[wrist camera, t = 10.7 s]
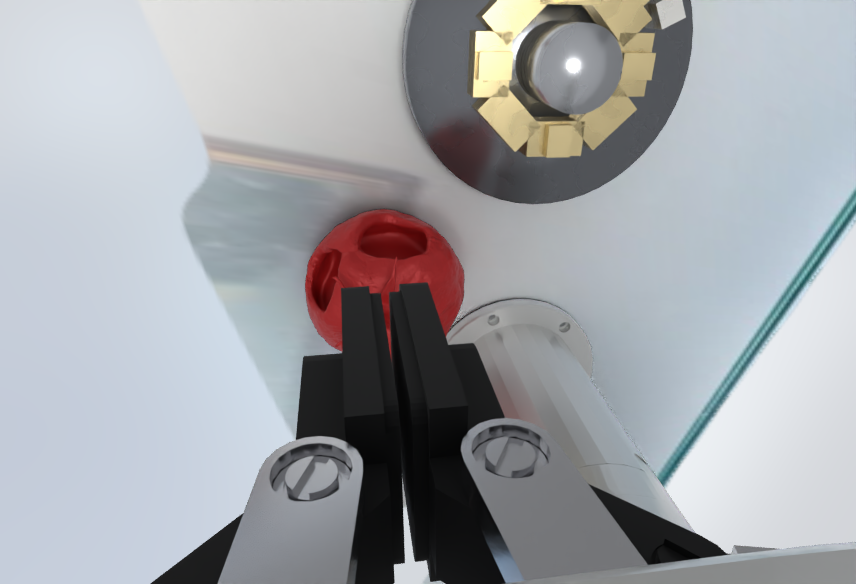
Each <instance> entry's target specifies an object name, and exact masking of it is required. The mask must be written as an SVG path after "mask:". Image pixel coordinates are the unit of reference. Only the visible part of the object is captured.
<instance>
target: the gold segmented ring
mask: <svg viewBox="0 0 856 584" xmlns="http://www.w3.org/2000/svg"><path fill="white" fill-rule="evenodd" d="M648 1H649V0H490V1H489V2H488V3H487V5H486V6H485V7H484V8H483V9H482V10H481V11H480V12H479V13H478V14H477V15H476V17H477V18H478V19H479V21H480V22H481V23H482V24H483V25H484V27H485V28H486V29H487V30H470V38H469V62H468V86H467V94H469V95H470V96H472V97H480V98H479V99H478V100H477V101H476V102H475V103H474V104H473V105H472V107H473V108H474V109H475V110H476V111H477V113H478V114H479V115H480V116H481V117H482V118H483V119H484V120H485V121H486V122H487V124H488V125H489V126H490V127H491V128H492V129H493V130H494V131H495V132H496V134H497V135H498V136H499V137H500V138H501V139H502V140H503V141H504V142H505V143H506V145H507V146H508V147H510V148H511V149H512V150H513V151H514V152H516V151H517V150H518V149H519V151H520V152H521V153H522V154H523V155H525V156H526V157H546V158H557V157H570V156H581V151H582V145H584V146H586V147H587V148H589V149H591V150H592V151H593V150H594V149H595V148H596V147H597V146H598V145H599V144H601V143H602V142H603V141H604V140H605V139H606V138H607V137H608V136H609V135H610V134H611V133H612V132H613V131H614V130H616V129H617V128H618V127H619V126H620V125H621V124H622V123H623V122H624V121H625V120H626V119H627V118H628V117H629V116H631V115H632V114H633V113H634V112H635V111H636V110H637V108H636V107H635V106H634V104H633V103H632V102H631V100H630V99H629V98H628V97H640V96H644V94H645V88H646V83H647V80H652V74H653V68H654V62H655V56H656V53H653V52H652V47H653V41H654V35H655V33H648V32H639V31H640V30H641V29H642V28H643V27H645V26H646V25H647V24H648V23H649V22H650V21H651V20H652V18H651V16H650V15H649V13H648V12H647V11H646V9H645V8H644V5H645V4H646V3H647V2H648ZM547 4H569V5H582V6H583V7H584V9H585V10H586V11H587V13H588V14H589V15H590V17H591V18H592V20H593V21H594V22H595V24H597V25H600V26H602V27H604V28H606V29H607V30H609V31H610V32H611V33H612V34H613V35H614V37H615V38H616V40H617V41H618V43H619V46H620V48H621V52H622V58H623V68H622V74H621V78H620V81H619V83H618V86H617V88H616V90H615V91H614V93H613V94H612V95H611V97H610V98H609V99H608V100H607V101H606V102H605V103H604V104H603V105H601V106H600V107H599V108H597V109H595V110H593V111H591V112H589V113H585V114H580V115H572V114H570V115H569V116H549V117H532V116H531V114H530V113H529V112H528V111H527V110H526V109H525V107H524V106H523V105H522V104H521V103H520V102H519V100H518V99H517V98H516V97H515V96H514V95H513V93H512V92H511V91H510V90H509V81H510V80H511V78H512V64H513V52H512V40H513V39H514V38H515V37H516V36H517V35H518V34H519V33H520V32H521V31H522V30H523V29H524V28H525V27H526V26H527V25H528V24H529V23H530V22H531V21H532V20H533V19H534V18H535V17H536V16H537V15H538V14H539V12H540V11H541V10H542V9H543V8H544V7H545V6H546V5H547Z"/></svg>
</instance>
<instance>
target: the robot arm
mask: <svg viewBox="0 0 856 584" xmlns="http://www.w3.org/2000/svg"><path fill="white" fill-rule="evenodd" d="M389 310H390V335H391V355H390V349H389V343H388V336H387V330H386V324H385V318H384V311H383V305H382V299H381V293H370V290H369V286H363V287H348V288H341V312H342V353H340V354H328V355H315V356H304V357H303V365H302V377H301V388H300V399H299V411H298V422H297V434H296V440H295V441H292V442H289V443H288V444H286V445H284V446H282V447H280V448H279V449H277V450H276V451H274V452H273V453H272V454H271V455H270V456H269V457H268V458H267V459H266V460H265V462H264V463H263V465H262V467H261V469H260V470H259V473H258V476H257V478H256V481H255V484H254V486H253V489H252V492H251V494H250V497H249V500H248V502H247V505H246V508H245V511H244V513H243V514H242V515H240V516H239V517H237V518H236V519H235V520H234V521H232V522H231V523H230V524H228V525H227V526H226V527H224V528H223V529H222V530H220V531H219V532H218V533H217V534H215V535H214V536H213V537H211V538H210V539H209V540H207V541H206V542H205V543H203V544H202V545H201V546H199V547H198V548H197V549H195V550H194V551H193V552H192V553H190V554H189V555H188V556H186V557H185V558H184V559H182V560H181V561H180V562H178V563H177V564H176V565H174V566H173V567H172V568H170V569H169V570H168V571H166V572H165V573H164V574H163V575H161V576H160V577H159V578H157V579H156V580H155V581H153V582H152V583H151V584H394V564H401V563H405V554H404V526H403V495H402V477H403V484H404V491H405V498H406V505H407V512H408V519H409V525H410V532H411V539H412V546H413V553H414V559H415V562H417V561H424V560H427V564H428V570H429V577H430V582H433V581H442V582H444V583H446V584H856V542H850V543H839V544H824V545H814V546H803V547H794V548H787V549H775V548H762V547H749V546H736V545H734V547H733V550H732V553H731V554H726V553H725V552H724V551H723V550H722V549H721V548H720V547H718V546H717V545H716V544H714V543H712V542H711V541H709V540H707V539H705V538H703V537H702V536H700V535H698V534H696V533H695V532H694V530H693V529H692V528H691V526H690V525H689V523H688V522H687V521H686V519H685V518H684V516H683V515H682V513H681V512H680V511H679V509H678V508H677V506H676V505H675V503H674V502H673V500H672V499H671V497H670V496H669V494H668V493H667V491H666V490H665V488H664V487H663V485H662V484H661V483H660V481H659V480H658V478H657V477H656V475H655V474H654V472H653V471H652V469H651V468H650V466H649V465H648V463H647V462H646V460H645V459H644V457H643V456H642V454H641V453H640V452H639V450H638V449H637V447H636V446H635V444H634V443H633V441H632V440H631V438H630V437H629V435H628V434H627V432H626V431H625V429H624V428H623V426H622V425H621V423H620V422H619V421H618V419H617V418H616V416H615V415H614V413H613V412H612V410H611V409H610V407H609V406H608V404H607V403H606V401H605V400H604V398H603V397H602V395H601V394H600V392H599V391H598V389H597V388H596V387H595V385H594V384H593V382H592V381H591V376H592V368H593V357H592V349H591V346H590V344H589V341H588V338H587V336H586V335H585V333H584V332H583V330H582V329H581V327H580V326H579V325H578V324H577V322H576V321H575V320H574V319H573V318H572V317H571V316H570V315H569V314H567V313H566V312H564V311H563V310H562V309H560V308H558V307H556V306H553V305H551V304H549V303H546V302H542V301H537V300H532V299H513V300H506V301H500V302H497V303H494V304H491V305H488V306H485V307H482V308H480V309H479V310H477V311H475V312H473V313H471V314H469V315H468V316H466V317H465V318H464V319H462V320H461V321H460V322H458V323H457V324H456V325H455V326H454V327H453V328H452V329H451V330H450V331H449V332H448V334H447V336H445V333H444V330H443V327H442V324H441V321H440V318H439V315H438V312H437V309H436V306H435V303H434V300H433V297H432V294H431V291H430V288H429V285H428V283H427V282H423V283H408V284H399V291H398V292H389ZM491 315H493V316H491ZM490 316H491V317H490ZM446 338H447V339H446ZM391 361H392V362H391Z"/></svg>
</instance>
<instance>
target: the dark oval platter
mask: <svg viewBox="0 0 856 584" xmlns="http://www.w3.org/2000/svg"><path fill="white" fill-rule="evenodd" d="M489 1H490V0H412V3H411V6H410V9H409V12H408V17H407V21H406V26H405V31H404V40H403V50H402V60H403V77H404V83H405V90H406V94H407V98H408V101H409V105H410V109H411V111H412V114H413V116H414V118H415V121H416V123H417V125H418V128H419V129H420V131H421V133H422V134H423V136H424V138H425V139H426V141H427V143H428V144H429V146H430V147H431V149H432V150H433V151H434V153H435V154H436V155H437V157H438V158H439V159H440V160H441V162H442V163H443V164H444V165H445V166H446V167H447V168H448V169H449V170H450V171H451V172H452V173H453V174H454V175H455V176H457V177H458V178H460V179H461V180H462V181H464V182H465V183H466V184H468V185H469V186H471V187H473V188H475V189H477V190H479V191H480V192H482V193H484V194H487V195H490V196H492V197H495V198H498V199H501V200H506V201H510V202H515V203H526V204H542V203H553V202H558V201H564V200H568V199H571V198H574V197H577V196H581V195H584V194H586V193H588V192H590V191H592V190H595V189H597V188H599V187H601V186H602V185H604V184H606V183H607V182H609V181H611V180H612V179H614V178H615V177H617V176H618V175H619V174H621V173H622V172H623V171H625V170H626V169H627V168H628V167H630V166H631V165H632V164H633V163H634V162H635V161H636V160H637V159H638V158H639V157H640V156H641V155H642V154H643V153H644V152H645V151H646V149H647V148H648V147H649V146H650V145H651V144H652V142H653V141H654V140H655V139H656V137H657V136H658V134H659V133H660V131H661V130H662V128H663V127H664V125H665V124H666V122H667V120H668V118H669V117H670V115H671V113H672V111H673V109H674V107H675V105H676V103H677V100H678V98H679V95H680V93H681V90H682V88H683V84H684V81H685V78H686V74H687V71H688V66H689V61H690V55H691V49H692V34H693V22H692V7H691V1H690V0H649V1H648V2H647V3H646V4H645V5H644V8H645V9H646V11H647V12H648V13H649V15H650V16H651V18H652V20H651V21H650V22H649V23H648V24H647V25H646V26H645V27H643V28H642V29H641V30H640V31H639V32H648V33H655V35H654V41H653V47H652V52H653V53H656V56H655V62H654V68H653V74H652V80H647V83H646V88H645V94H644V96H640V97H628V98H629V99H630V100H631V102H632V103H633V104H634V106H635V107H636V108H637V110H636V111H635V112H634V113H633V114H632V115H631V116H629V117H628V118H627V119H626V120H625V121H624V122H623V123H622V124H621V125H620V126H619V127H618V128H617V129H616V130H614V131H613V132H612V133H611V134H610V135H609V136H608V137H607V138H606V139H605V140H604V141H603V142H602V143H601V144H599V145H598V146H597V147H596V148H595V149H594V150H593V151H592V150H591V149H589V148H587V147H586V146H584V145H582V151H581V156H570V157H557V158H546V157H526V156H525V155H523V154H522V153H521V152H520V151H519V149H518V150H517V151H516V152H514V151H513V150H512V149H511V148H510V147H508V146H507V145H506V143H505V142H504V141H503V140H502V139H501V138H500V137H499V136H498V135H497V134H496V132H495V131H494V130H493V129H492V128H491V127H490V126H489V125H488V124H487V122H486V121H485V120H484V119H483V118H482V117H481V116H480V115H479V114H478V113H477V111H476V110H475V109H474V108H473V107H472V105H473V104H474V103H475V102H476V101H477V100H478V99H479V98H480V97H472V96H470V95H469V94H467V86H468V62H469V38H470V30H487V29H486V28H485V27H484V25H483V24H482V23H481V22H480V21H479V19H478V18H477V17H476V15H477V14H478V13H479V12H480V11H481V10H482V9H483V8H484V7H485V6H486V5H487V3H488V2H489ZM512 52H513V64H512V78H511V80H510V81H509V90H510V91H511V92H512V93H513V95H514V96H515V97H516V98H517V99H518V100H519V102H520V103H521V104H522V105H523V106H524V107H525V109H526V110H527V111H528V112H529V113H530V114H531V116H532V117H549V116H569V115H570V114H572V115H580V114H585V113H589V112H591V111H593V110H595V109H597V108H599V107H600V106H601V105H603V104H604V103H605V102H606V101H607V100H608V99H609V98H610V97H611V95H612V94H613V93H614V91H615V90H616V88H617V86H618V83H619V81H620V78H621V74H622V68H623V58H622V52H621V48H620V46H619V43H618V41H617V40H616V38H615V37H614V35H613V34H612V33H611V32H610V31H609V30H607V29H606V28H604V27H602V26H600V25H597V24H595V22H594V21H593V20H592V18H591V17H590V15H589V14H588V13H587V11H586V10H585V9H584V7H583V6H582V5H569V4H547V5H546V6H545V7H544V8H543V9H542V10H541V11H540V12H539V14H538V15H537V16H536V17H535V18H534V19H533V20H532V21H531V22H530V23H529V24H528V25H527V26H526V27H525V28H524V29H523V30H522V31H521V32H520V33H519V34H518V35H517V36H516V37H515V38H514V39H513V40H512Z"/></svg>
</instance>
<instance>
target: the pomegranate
mask: <svg viewBox="0 0 856 584" xmlns="http://www.w3.org/2000/svg"><path fill="white" fill-rule="evenodd" d="M423 282H427V283H428V285H429V288H430V291H431V294H432V297H433V300H434V303H435V306H436V309H437V312H438V315H439V318H440V321H441V324H442V327H443V330H444V333H445V336H447V334H448V331H449V329H450V327H451V325H452V324H453V322H454V320H455V318H456V316H457V314H458V312H459V310H460V306H461V304H462V301H463V297H464V270H463V268H462V265H461V263H460V261H459V259H458V258H457V256H456V255H455V253H454V251H453V249H452V248H451V247H450V245H449V243H448V242H447V240H446V239H445V238H444V237H443V236H441V235H440V234H439V233H438V231H437V230H436V229H434V228H433V227H432V226H431V225H429V224H427V223H425V222H423V221H421V220H419V219H417V218H415V217H413V216H411V215H408V214H407V215H406V214H404V213H401V212H398V211H395V210H387V209H379V210H374V211H368V212H363V213H360V214H358V215H357V216H355V217H353V218H350V219H348V220H347V221H345V222H343V223H341V224H339V225H337V226H336V227H334V229H333V230H332V231H331V232H330V233H329V234H328V235H327V236H326V237H325V238H324V239H323V240H322V242H321V243H320V244H319V245H318V246H317V248H316V249H315V251H314V253H313V254H312V256H311V258H310V260H309V262H308V268H307V276H306V283H305V291H306V301H307V306H308V312H309V315H310V318H311V320H312V322H313V324H314V326H315V328H316V330H317V332H318V333H319V335H321V337H323V338H324V339H325V341H326V342H327V343H328V344H329V345H331V346H332V347H334V348H336V349H338V350H340V351H342V312H341V288H348V287H363V286H369V290H370V293H381V299H382V305H383V311H384V318H385V324H386V330H387V336H388V343H389V349H390V355H391V335H390V310H389V292H398V291H399V284H408V283H423ZM446 339H447V338H446ZM391 362H392V361H391Z"/></svg>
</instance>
